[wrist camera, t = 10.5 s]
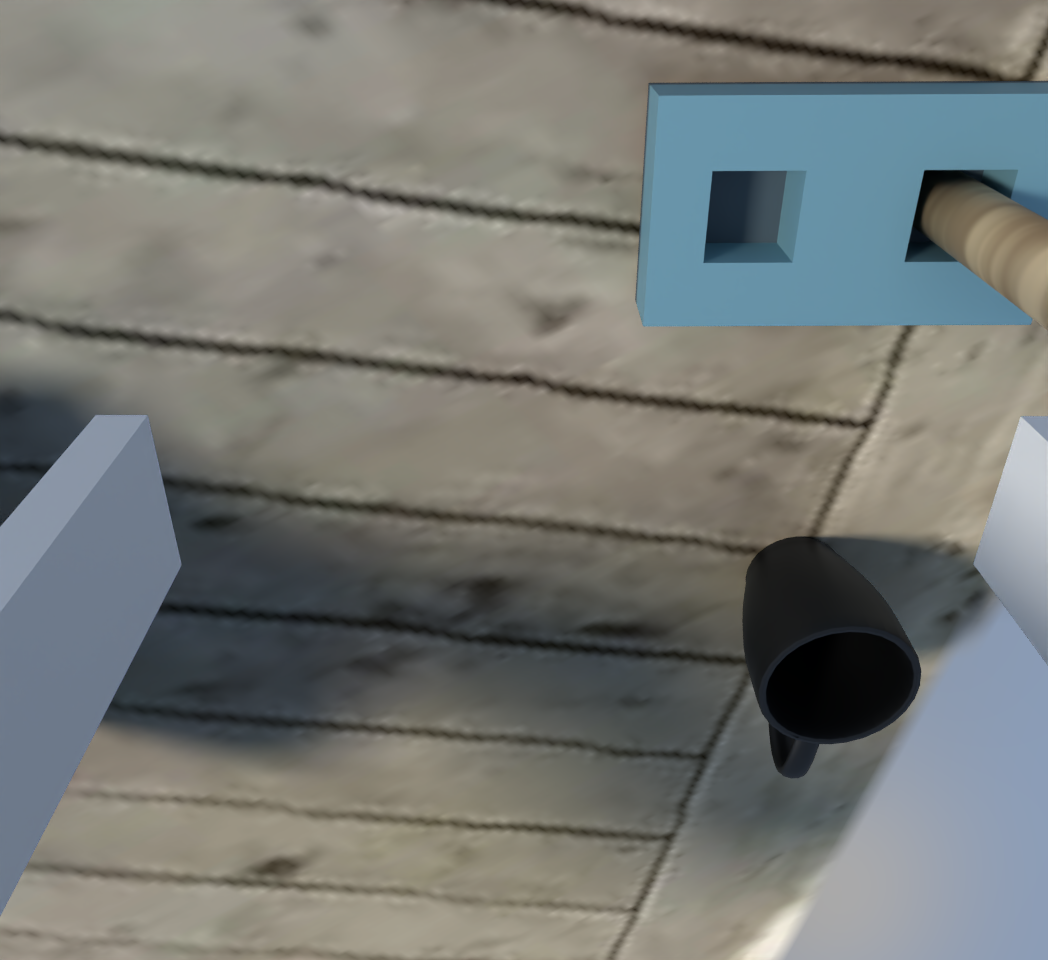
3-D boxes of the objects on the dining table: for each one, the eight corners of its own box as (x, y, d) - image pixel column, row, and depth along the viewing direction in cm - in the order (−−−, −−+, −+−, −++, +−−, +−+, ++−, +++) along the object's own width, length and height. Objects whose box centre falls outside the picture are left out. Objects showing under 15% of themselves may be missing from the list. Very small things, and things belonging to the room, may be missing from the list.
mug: (689, 663, 58) (716, 783, 50) (746, 507, 52) (788, 615, 44) (813, 680, 59) (859, 801, 51) (883, 528, 53) (949, 638, 45)
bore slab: (635, 299, 46) (643, 326, 43) (648, 82, 40) (658, 95, 37) (997, 298, 45) (1030, 324, 42) (1057, 80, 40) (1100, 93, 37)
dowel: (896, 231, 43) (1039, 347, 31) (911, 165, 42) (1067, 261, 30) (959, 231, 43) (1127, 348, 31) (976, 165, 42) (1159, 262, 30)
